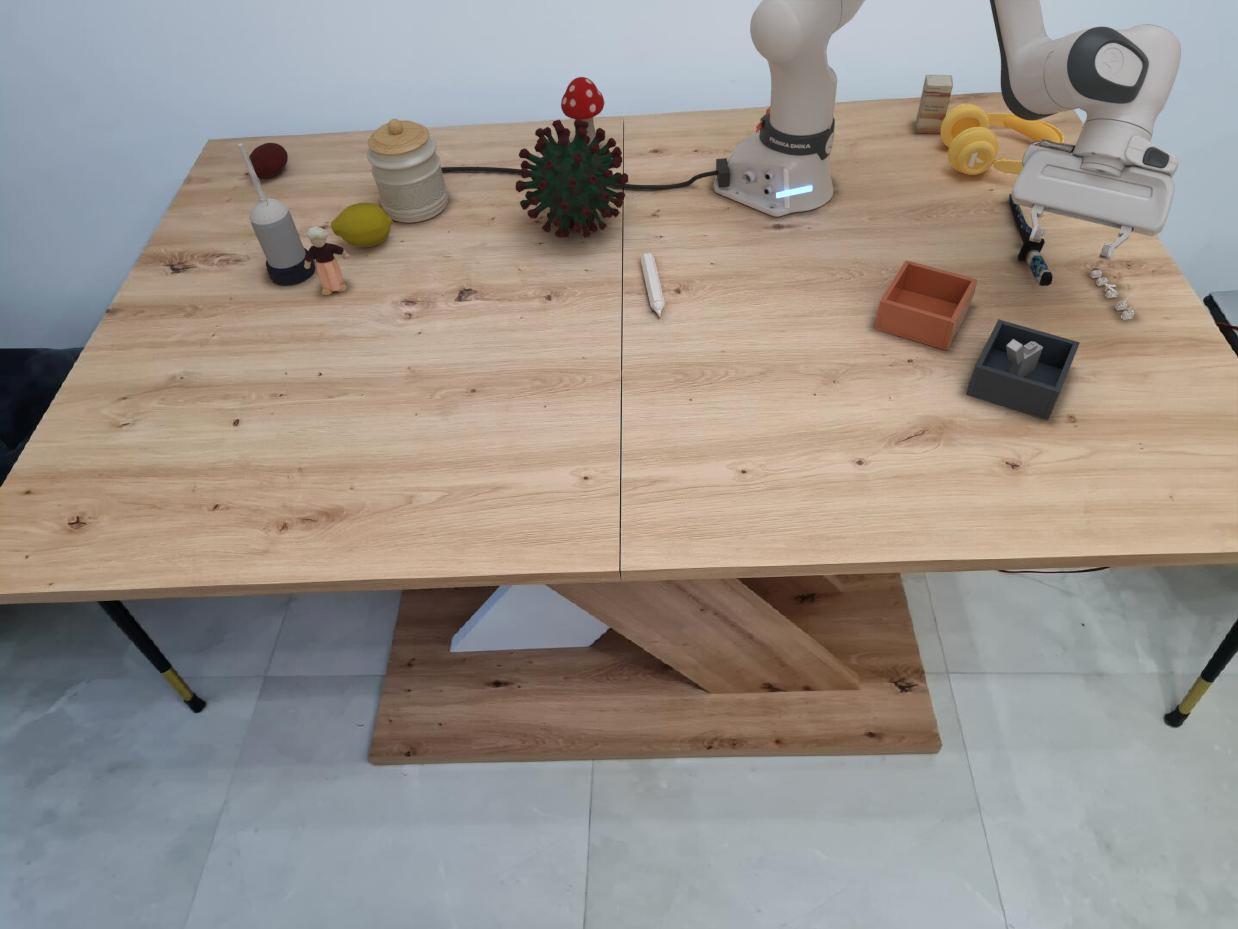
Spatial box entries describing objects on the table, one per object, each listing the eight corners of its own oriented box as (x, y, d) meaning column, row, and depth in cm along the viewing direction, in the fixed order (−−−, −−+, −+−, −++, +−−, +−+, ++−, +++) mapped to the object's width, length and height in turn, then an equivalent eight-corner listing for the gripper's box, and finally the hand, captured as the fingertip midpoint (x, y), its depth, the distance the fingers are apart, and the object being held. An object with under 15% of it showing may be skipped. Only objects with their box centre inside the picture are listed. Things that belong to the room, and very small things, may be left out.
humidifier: (300, 252, 168) (250, 126, 149) (323, 270, 164) (275, 142, 145) (262, 273, 164) (205, 146, 146) (285, 291, 160) (230, 164, 141)
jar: (370, 218, 174) (343, 132, 161) (405, 182, 182) (382, 98, 168) (428, 229, 170) (405, 142, 157) (461, 192, 178) (442, 106, 164)
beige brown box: (916, 133, 180) (925, 84, 173) (915, 122, 183) (924, 73, 176) (943, 134, 180) (953, 85, 172) (941, 123, 182) (952, 74, 175)
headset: (1068, 181, 166) (1082, 135, 159) (949, 188, 168) (958, 142, 161) (1042, 133, 177) (1055, 87, 171) (932, 140, 180) (939, 95, 173)
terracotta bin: (874, 328, 143) (879, 300, 139) (899, 287, 149) (905, 259, 145) (946, 350, 139) (954, 322, 134) (970, 307, 145) (978, 279, 141)
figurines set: (1087, 276, 148) (1093, 261, 146) (1104, 273, 148) (1110, 259, 146) (1123, 322, 140) (1130, 308, 138) (1141, 320, 140) (1148, 305, 138)
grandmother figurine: (319, 301, 158) (294, 240, 148) (313, 290, 160) (289, 229, 150) (361, 286, 160) (339, 225, 150) (355, 275, 162) (333, 214, 152)
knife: (1048, 300, 143) (1056, 275, 140) (1028, 299, 143) (1036, 274, 140) (1020, 209, 165) (1027, 186, 161) (1003, 208, 165) (1009, 185, 162)
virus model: (531, 269, 159) (514, 167, 144) (516, 208, 173) (499, 108, 158) (642, 249, 161) (636, 146, 146) (619, 190, 174) (611, 89, 159)
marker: (659, 324, 148) (646, 265, 159) (670, 318, 148) (656, 259, 158) (651, 315, 147) (638, 256, 157) (662, 308, 146) (648, 249, 156)
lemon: (400, 228, 171) (389, 191, 165) (395, 253, 166) (383, 215, 160) (343, 233, 171) (330, 196, 165) (337, 258, 166) (323, 221, 160)
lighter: (1026, 362, 135) (1041, 321, 129) (1035, 369, 134) (1051, 327, 128) (993, 383, 132) (1006, 341, 126) (1002, 389, 131) (1016, 348, 125)
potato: (299, 167, 188) (290, 140, 184) (268, 188, 184) (257, 161, 179) (275, 159, 191) (264, 132, 187) (243, 179, 187) (231, 153, 182)
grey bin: (966, 394, 132) (974, 366, 128) (989, 347, 138) (998, 318, 134) (1048, 420, 128) (1059, 392, 124) (1068, 370, 134) (1080, 342, 130)
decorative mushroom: (607, 162, 181) (601, 90, 170) (565, 165, 182) (556, 93, 170) (608, 137, 188) (603, 66, 177) (567, 139, 188) (559, 68, 177)
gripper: (1031, 129, 126) (993, 225, 128) (1191, 162, 118) (1148, 264, 120) (1031, 143, 132) (994, 235, 134) (1184, 175, 124) (1143, 273, 126)
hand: (1068, 249), depth 127 cm, fingers open, 8 cm apart
